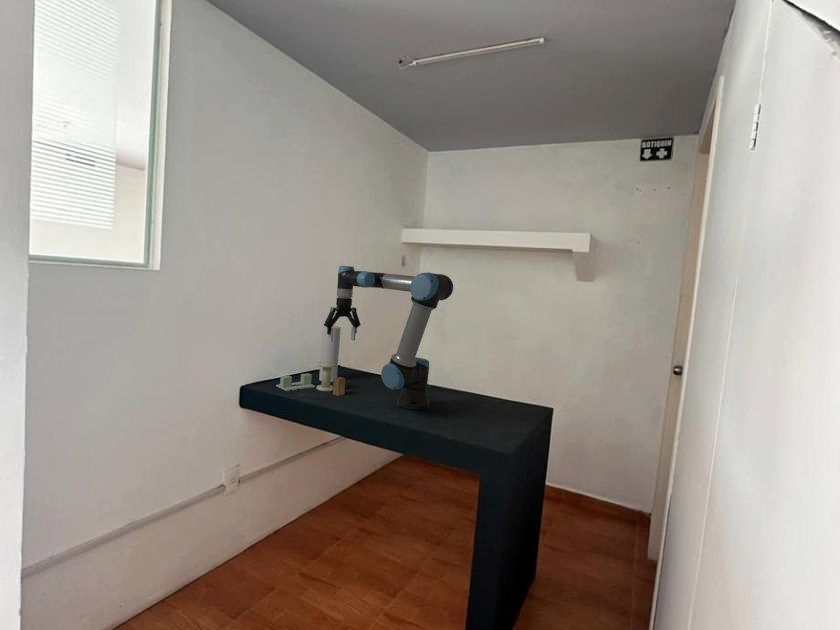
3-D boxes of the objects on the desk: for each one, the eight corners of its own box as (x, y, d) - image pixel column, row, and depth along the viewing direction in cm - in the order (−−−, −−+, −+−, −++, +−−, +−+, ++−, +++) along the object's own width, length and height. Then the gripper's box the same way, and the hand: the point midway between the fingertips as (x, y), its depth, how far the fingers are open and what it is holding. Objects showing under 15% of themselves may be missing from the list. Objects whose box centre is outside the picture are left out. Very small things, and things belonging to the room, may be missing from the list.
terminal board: (314, 387, 228) (315, 376, 228) (286, 391, 217) (287, 379, 216) (304, 382, 235) (304, 371, 235) (276, 386, 223) (277, 374, 223)
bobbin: (338, 389, 227) (340, 364, 226) (323, 392, 221) (325, 366, 220) (327, 385, 233) (329, 361, 232) (312, 387, 227) (314, 362, 226)
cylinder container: (316, 380, 243) (320, 325, 240) (324, 376, 252) (328, 324, 249) (331, 382, 240) (335, 327, 238) (339, 379, 249) (343, 326, 247)
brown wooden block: (344, 394, 220) (345, 378, 219) (337, 395, 217) (338, 379, 216) (339, 392, 222) (340, 377, 222) (332, 393, 220) (333, 377, 219)
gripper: (360, 297, 230) (357, 338, 231) (318, 296, 212) (315, 340, 213) (369, 298, 224) (366, 340, 226) (327, 297, 207) (324, 342, 208)
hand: (341, 340), depth 220 cm, fingers open, 13 cm apart
